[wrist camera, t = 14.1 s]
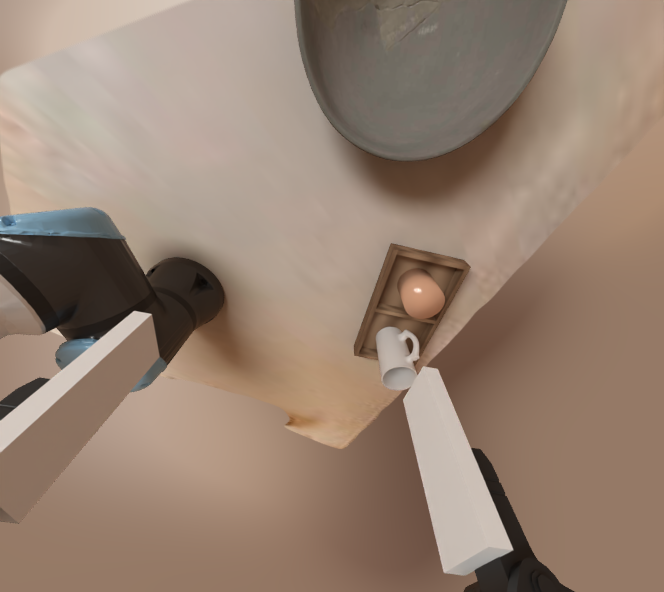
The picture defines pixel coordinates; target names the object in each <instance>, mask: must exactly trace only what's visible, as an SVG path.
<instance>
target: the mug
mask: <svg viewBox="0 0 664 592" xmlns="http://www.w3.org/2000/svg"><path fill="white" fill-rule="evenodd" d="M407 338H411V340H412V341H413V351H412V353H411V354H410V352H409V350H408V347H407V344H406V341H405V340H406V339H407ZM376 345H377V352H378V360H379V367H380V374H381V380H382V383H383V385H384V386H385V387H386V388H388V389H391V390H405V389H408V388H410V387H411V386H412V384H413V383H414V381H415V379H416V378H417V376H418V375H417V373H416V369H415V366H414V364H413V361H416V360H417V359H419V358H420V357H419V342H418V339H417V337H416V336H415V335H414V334H413V333H411V332H410V331H408V330H404V331H403V332H401V330H399V329H398V328H396V327H386V328H383V329H381V330H380V331H379V332H378V333H377V335H376Z"/></svg>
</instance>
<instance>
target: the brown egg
mask: <svg viewBox="0 0 664 592" xmlns="http://www.w3.org/2000/svg"><path fill="white" fill-rule="evenodd" d="M397 289H398V292H399V295H400V297H401V300H402V302H403V305H404V308H405V310H406V312H407V313H408V314H409V315H410V316H411V317H414V318H417V319H426V318H430V317H432V316H434V315H436V314H437V313H438V312H440V310H441V309H442V308H443V306H444V303H445V296H444V294H443V292H442V291H441V289H440V288H439V286H438V285H437V283H436V282H435V280H434V279H433V277H432V276H431V274H430V273H429V272H428V271H427V270H425V269H421V268H414V269H410V270H408V271H406V272H405V273H403V274H402V275H401V276H400V278H399V280H398V282H397Z"/></svg>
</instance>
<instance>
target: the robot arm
mask: <svg viewBox="0 0 664 592" xmlns="http://www.w3.org/2000/svg"><path fill="white" fill-rule="evenodd" d="M125 240H126V238H125V237H124V236H122V235H121V234H120V232H119V230H118V229H117V227H116V226H115V224H114V223H113V221H112V220H111V218H110V217H109V216H108V215H107V214H106V213H105V212H103V211H102V210H99V209H97V208H92V207H85V208H75V209H65V210H55V211H46V212H37V213H27V214H17V215H8V216H0V339H1V338H3V337H5V336H7V335H12V334H26V335H41V334H44V333H46V332H48V331H50V330H52V329H54V328H57V329H58V330H59V331H60V332H61V334H62V335H63V336H64V337H65V338H66V340H67V342H64V343H62V344H61V345H60V347H59V349H58V350H57V351H56V354H55V356H56V363H57V364H58V366H59V367H60V368H61V370H62V371H60V372H59V373H58V374H57V375H56V376H54V377H53V378H52V379H45V378H37V379H35V380H34V381H32V382H30V383H28V384H26V385H24V386H22V387H20V388H18V389H16V390H15V391H14V392H12V393H11V394H10V395H8V396H7V397H6V398H4V399H3V400H2V401H1V402H0V521H1V522H10V523H18V524H19V523H20V522H21V521H22V520H23V518H24V517H25V516H26V515H27V514H28V512H29V511H30V510H31V509H32V508H33V507H34V505H35V504H36V503H37V502H38V501H39V499H40V498H41V497H42V496H43V494H44V493H45V492H46V491H47V490H48V489H49V488H50V486H51V485H52V484H53V482H55V480H56V479H57V478H58V477H59V475H60V474H61V473H62V472H63V471H64V470H65V469H66V467H67V466H68V465H69V464H70V463H71V461H72V460H73V459H74V458H75V457H76V455H77V454H78V453H79V452H80V451H81V450H82V448H83V447H84V446H85V445H86V444H87V442H88V441H89V440H90V439H91V438H92V436H93V435H94V434H95V433H96V432H97V431H98V429H99V428H100V427H101V426H102V424H103V423H104V422H105V421H106V420H107V419H108V417H109V416H110V415H111V414H112V413H113V411H114V410H115V409H116V408H117V407H118V406H119V404H120V403H121V402H122V401H123V400H124V398H125V397H126V396H127V395H128V394H129V393H130V392H135V391H139V390H141V389H144V388H146V387H147V386H149V385H150V384H151V383H152V382H153V381H154V380H155V379H156V378H157V377H158V375H159V374H160V373H161V372H163V371H164V370H165V369H166V368H167V365H168V364H169V363H170V361H171V360H172V359H173V357H174V356H175V355H176V353H177V352H178V351H179V349H180V348H181V347H182V345H183V344H184V343H185V341H186V340H187V339H188V337H189V336H190V335H191V333H192V332H193V331H194V330H195V329H197V328H198V327H200V326H201V325H203V324H205V323H207V322H209V321H211V320H212V319H213V318H214V317H215V316H216V315H217V314H218V312H219V311H220V310H221V308H222V306H223V303H224V292H223V289H222V286H221V284H220V282H219V281H218V279H217V278H216V277H215V276H214V274H213V273H212V272H210V271H209V270H208V269H207V268H205V267H204V266H202V265H201V264H199V263H197V262H195V261H192V260H189V259H185V258H168V259H165V260H163V261H161V262H159V263H158V264H156V265H155V266H153V267H152V268H151V269H150V270H149V271H148V273H147V274H146V276H145V274H144V272H143V270H142V269H141V267H140V265H139V263H138V262H137V260H136V258H135V256H134V255H133V253H132V251H131V250H130V248H129V246H128V244H127V243H126V241H125ZM403 402H404V406H405V409H406V414H407V419H408V423H409V427H410V431H411V435H412V439H413V444H414V448H415V452H416V457H417V461H418V465H419V469H420V473H421V478H422V482H423V486H424V490H425V495H426V498H427V503H428V507H429V512H430V515H431V520H432V524H433V528H434V533H435V537H436V541H437V545H438V550H439V553H440V558H441V562H442V566H443V570H444V573H449V574H457V575H467V574H469V573H471V572H473V571H475V573H476V576H477V580H478V581H477V582H475V583H473V584H471V585H469V586H467V587H466V588H465V590H464V592H574V591H572V590H571V589H569V588H567V587H565V586H563V585H562V584H561V583H559V581H558V579H557V578H556V577H555V575H554V574H553V573H552V572H551V571H550V570H549V569H548V568H547V567H546V566H544V565H543V564H542V563H541V562H539V561H538V560H537V558H536V557H535V555H534V553H533V552H532V550H531V548H530V546H529V543H528V541H527V539H526V537H525V535H524V533H523V531H522V528H521V526H520V524H519V522H518V520H517V517H516V515H515V513H514V512H513V509H512V507H511V505H510V502H509V500H508V498H507V496H505V492H504V489H503V487H502V485H501V483H499V479H498V477H497V474H496V472H495V470H494V468H493V466H492V464H491V463H490V461H489V460H488V458H487V457H486V456H485V454H484V453H483V452H482V451H481V450H480V449H475V448H470V445H469V443H468V440H467V438H466V436H465V433H464V431H463V429H462V426H461V424H460V421H459V419H458V417H457V414H456V412H455V410H454V407H453V405H452V403H451V400H450V398H449V395H448V393H447V391H446V388H445V386H444V383H443V381H442V378H441V376H440V374H439V371H438V369H435V368H429V367H425V366H423V367H422V369H421V371H420V373H419V374H418V376H417V378H416V379H415V381H414V383H413V384H412V386H411V388H410V389H409V391H408V393H407V394H406V396H405V398H404V399H403Z"/></svg>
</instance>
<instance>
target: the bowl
mask: <svg viewBox="0 0 664 592" xmlns="http://www.w3.org/2000/svg"><path fill="white" fill-rule="evenodd" d="M566 3H567V0H294V4H295V18H296V27H297V36H298V41H299V47H300V52H301V56H302V61H303V64H304V68H305V71H306V75H307V78H308V80H309V83H310V86H311V89H312V91H313V93H314V95H315V97H316V100H317V102H318V104H319V105H320V107H321V109H322V111H323V113H324V114H325V116H326V117H327V119H328V120H329V121H330V123H331V124H332V126H333V127H334V128H335V129H336V130H337V131H338V132H339V133H340V134H341V135H342V136H343V137H344V138H346V139H347V140H348V141H349V142H351V143H352V144H354V145H355V146H356V147H358V148H360V149H362V150H364V151H365V152H367V153H370V154H372V155H374V156H378V157H381V158H384V159H388V160H395V161H421V160H427V159H432V158H435V157H439V156H442V155H444V154H447V153H449V152H451V151H453V150H456V149H458V148H460V147H462V146H463V145H465V144H467V143H468V142H470V141H472V140H473V139H475V138H476V137H477V136H479V135H480V134H481V133H483V132H484V131H485V130H487V129H488V128H489V127H490V126H491V125H492V124H494V123H495V122H496V121H497V120H498V119H499V118H500V117H501V116H502V115H503V114H504V113H505V112H506V111H507V110H508V109H509V108H510V106H511V105H512V104H513V103H514V102H515V100H516V99H517V98H518V97H519V95H520V94H521V93H522V91H523V90H524V89H525V87H526V86H527V84H528V83H529V82H530V80H531V79H532V77H533V75H534V74H535V72H536V70H537V69H538V67H539V65H540V64H541V62H542V60H543V58H544V56H545V54H546V52H547V50H548V48H549V46H550V44H551V42H552V40H553V38H554V35H555V33H556V31H557V28H558V25H559V23H560V20H561V18H562V15H563V12H564V9H565V6H566Z"/></svg>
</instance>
